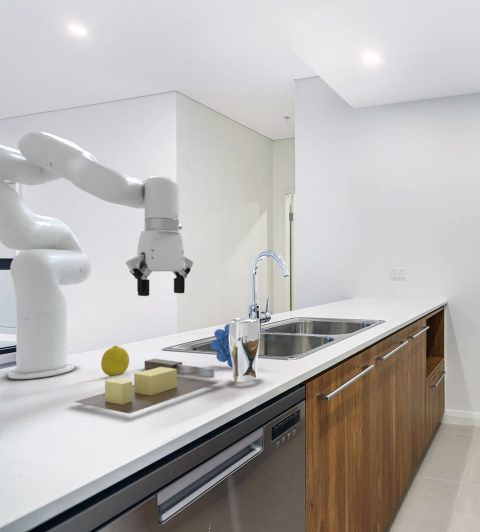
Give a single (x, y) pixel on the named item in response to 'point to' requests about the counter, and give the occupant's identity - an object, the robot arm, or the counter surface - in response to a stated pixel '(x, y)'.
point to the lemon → (115, 361)
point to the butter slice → (118, 391)
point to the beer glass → (244, 348)
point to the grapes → (222, 345)
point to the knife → (179, 367)
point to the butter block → (155, 380)
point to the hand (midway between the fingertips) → (162, 294)
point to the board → (148, 396)
